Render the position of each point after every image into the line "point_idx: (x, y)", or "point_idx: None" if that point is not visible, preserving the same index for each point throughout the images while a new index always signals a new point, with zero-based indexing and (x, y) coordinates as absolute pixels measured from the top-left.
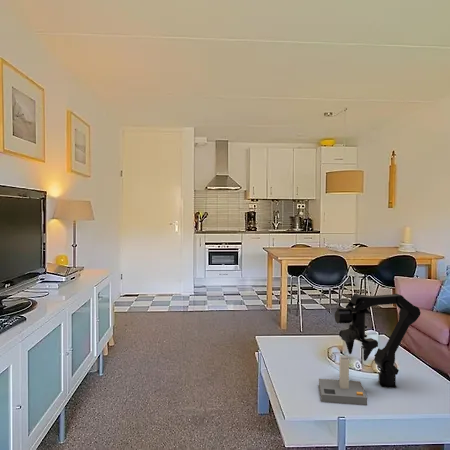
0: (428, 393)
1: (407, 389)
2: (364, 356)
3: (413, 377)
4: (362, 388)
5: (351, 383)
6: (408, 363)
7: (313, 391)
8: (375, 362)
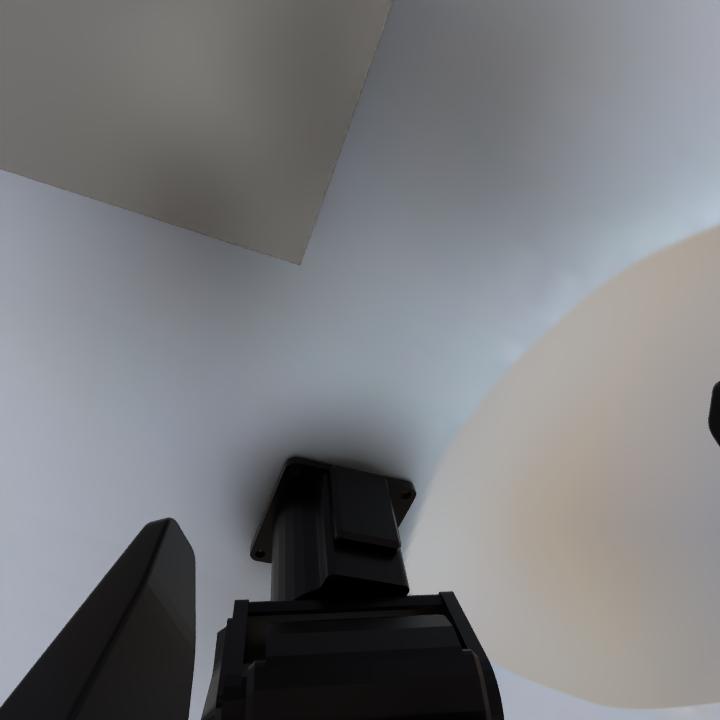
0: None
1: (218, 603)
2: (70, 638)
3: None
4: (49, 174)
5: (245, 92)
6: None
7: None
8: (436, 632)
